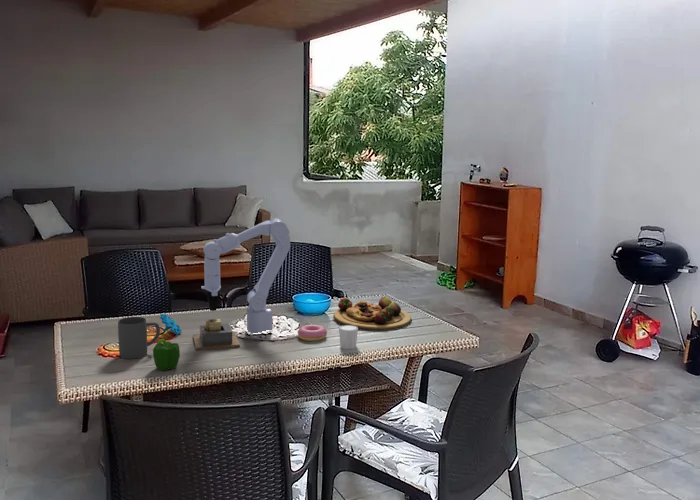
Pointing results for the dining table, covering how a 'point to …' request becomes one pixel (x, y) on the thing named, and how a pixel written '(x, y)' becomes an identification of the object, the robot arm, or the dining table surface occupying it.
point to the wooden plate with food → (372, 315)
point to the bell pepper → (166, 355)
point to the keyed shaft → (213, 325)
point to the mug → (134, 337)
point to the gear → (170, 324)
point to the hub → (215, 338)
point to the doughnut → (312, 332)
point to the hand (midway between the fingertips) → (213, 310)
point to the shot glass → (348, 336)
